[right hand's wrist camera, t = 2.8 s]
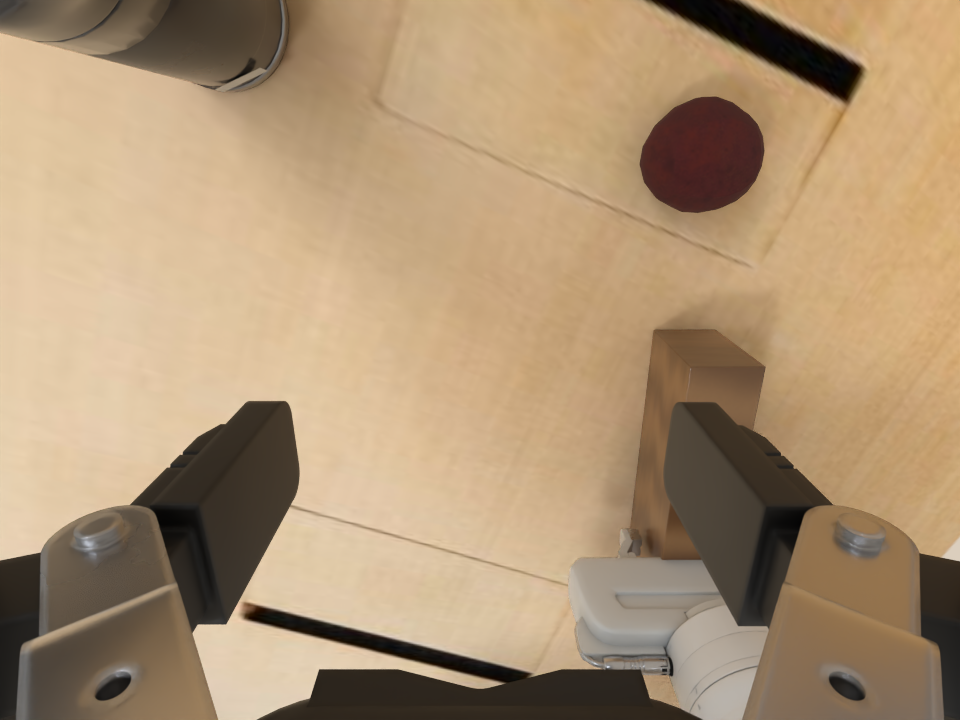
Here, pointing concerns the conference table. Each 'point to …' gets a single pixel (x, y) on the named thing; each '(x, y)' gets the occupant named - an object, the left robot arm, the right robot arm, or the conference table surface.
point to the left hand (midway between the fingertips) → (669, 534)
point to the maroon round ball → (702, 155)
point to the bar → (672, 378)
